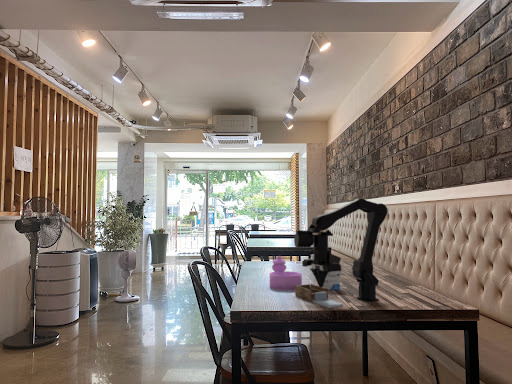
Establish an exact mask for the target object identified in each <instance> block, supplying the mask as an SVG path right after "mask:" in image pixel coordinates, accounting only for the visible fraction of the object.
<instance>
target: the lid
mask: <svg viewBox="0 0 512 384" xmlns="http://www.w3.org/2000/svg"><path fill="white" fill-rule="evenodd" d="M312 303H315V304H316V305H320V306H323V307H325V308H328V309H330V308H338V307H344V304H343V303H341V302H338V301H335V300H333V299H329V298H328V299H327V292H316V293H315V300H313V302H312Z"/></svg>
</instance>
